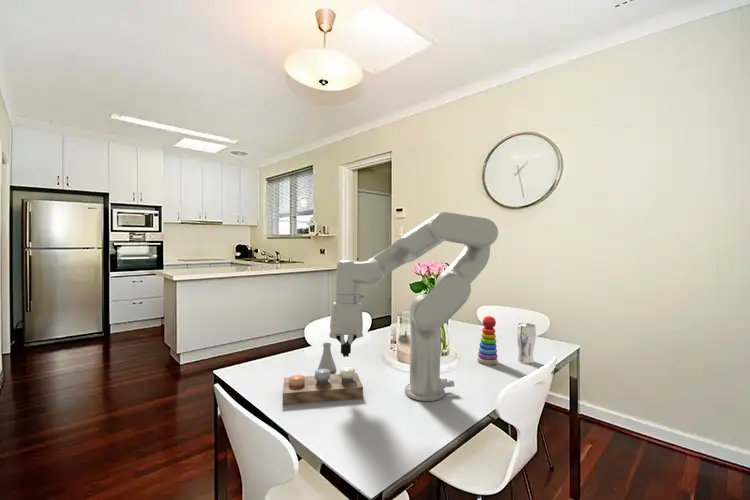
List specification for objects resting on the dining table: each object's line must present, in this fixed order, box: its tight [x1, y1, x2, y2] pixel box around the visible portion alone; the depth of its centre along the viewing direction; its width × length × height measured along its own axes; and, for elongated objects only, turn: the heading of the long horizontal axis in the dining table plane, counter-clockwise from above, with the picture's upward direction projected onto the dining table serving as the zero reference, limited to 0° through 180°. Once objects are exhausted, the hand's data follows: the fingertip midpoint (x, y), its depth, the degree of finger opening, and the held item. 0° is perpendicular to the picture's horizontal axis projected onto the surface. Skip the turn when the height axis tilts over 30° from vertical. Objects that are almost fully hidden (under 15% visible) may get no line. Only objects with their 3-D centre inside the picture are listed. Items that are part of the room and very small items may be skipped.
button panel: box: [282, 372, 364, 406], centre depth 114 cm, size 24×12×4 cm, turn 102°
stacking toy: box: [476, 315, 499, 366], centre depth 145 cm, size 8×8×19 cm
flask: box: [317, 342, 337, 374], centre depth 134 cm, size 7×7×10 cm
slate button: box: [314, 368, 331, 385], centre depth 114 cm, size 5×5×6 cm
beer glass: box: [516, 322, 537, 365], centre depth 146 cm, size 7×7×15 cm
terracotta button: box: [288, 374, 305, 387], centre depth 113 cm, size 5×5×6 cm
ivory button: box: [339, 366, 356, 383], centre depth 116 cm, size 5×5×6 cm
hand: (345, 355), depth 116 cm, fingers closed
